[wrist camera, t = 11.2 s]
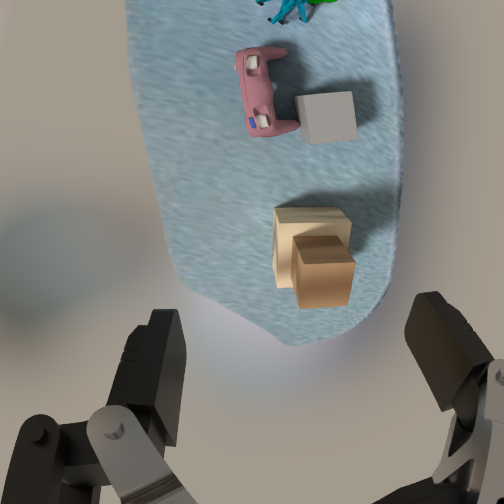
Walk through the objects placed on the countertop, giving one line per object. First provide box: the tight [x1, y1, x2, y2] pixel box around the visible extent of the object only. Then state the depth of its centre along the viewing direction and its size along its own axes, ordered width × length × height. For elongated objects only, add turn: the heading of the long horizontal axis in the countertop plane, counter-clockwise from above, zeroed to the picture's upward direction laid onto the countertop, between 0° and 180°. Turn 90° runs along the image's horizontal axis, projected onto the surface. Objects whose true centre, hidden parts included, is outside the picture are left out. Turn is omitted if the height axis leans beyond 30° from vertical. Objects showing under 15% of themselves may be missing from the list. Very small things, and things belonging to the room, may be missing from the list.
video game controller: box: [234, 47, 300, 137], centre depth 28 cm, size 10×5×7 cm, turn 9°
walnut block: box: [290, 236, 356, 309], centre depth 31 cm, size 5×5×6 cm
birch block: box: [273, 207, 352, 288], centre depth 36 cm, size 8×8×5 cm
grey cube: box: [294, 91, 358, 145], centre depth 29 cm, size 5×5×5 cm
